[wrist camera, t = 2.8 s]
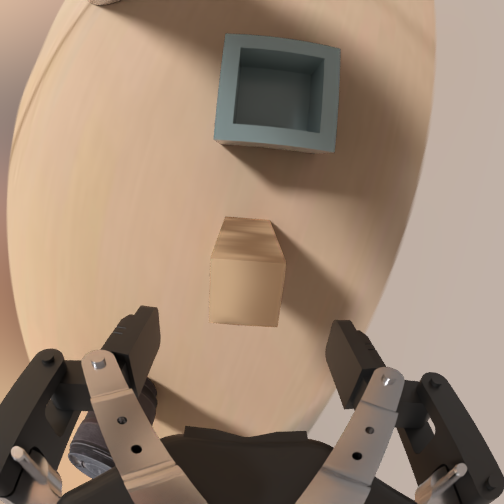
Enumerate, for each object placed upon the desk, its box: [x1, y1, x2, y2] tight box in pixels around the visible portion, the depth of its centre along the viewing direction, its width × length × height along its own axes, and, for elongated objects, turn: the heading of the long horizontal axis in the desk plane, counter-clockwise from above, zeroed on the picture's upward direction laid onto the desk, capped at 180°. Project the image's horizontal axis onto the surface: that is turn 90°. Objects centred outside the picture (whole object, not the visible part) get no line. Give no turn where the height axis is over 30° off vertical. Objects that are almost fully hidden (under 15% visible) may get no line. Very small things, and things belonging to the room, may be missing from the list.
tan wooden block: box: [209, 217, 287, 327], centre depth 20 cm, size 4×4×11 cm
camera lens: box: [68, 378, 157, 479], centre depth 25 cm, size 8×8×15 cm
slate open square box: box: [214, 34, 340, 154], centre depth 19 cm, size 8×8×6 cm
